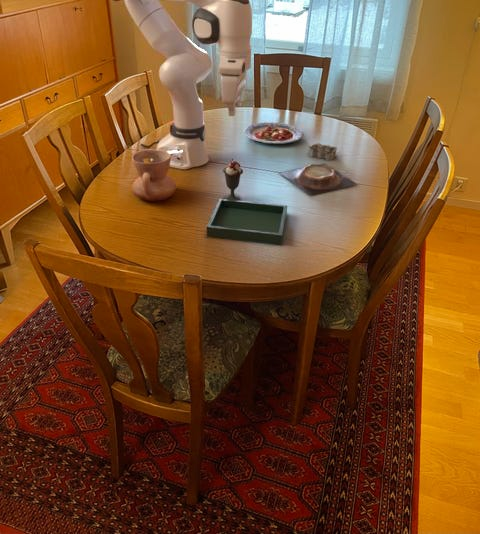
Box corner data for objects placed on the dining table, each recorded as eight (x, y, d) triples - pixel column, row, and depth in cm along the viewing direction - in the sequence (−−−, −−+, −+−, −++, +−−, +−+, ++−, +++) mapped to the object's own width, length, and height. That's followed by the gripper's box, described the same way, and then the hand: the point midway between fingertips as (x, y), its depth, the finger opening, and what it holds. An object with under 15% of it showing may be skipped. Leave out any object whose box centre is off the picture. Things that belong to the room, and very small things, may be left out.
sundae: (227, 204, 150) (228, 162, 141) (219, 196, 154) (219, 154, 146) (245, 200, 152) (247, 158, 143) (236, 192, 157) (237, 151, 148)
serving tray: (206, 236, 134) (206, 226, 132) (219, 207, 148) (219, 198, 146) (281, 245, 131) (281, 235, 129) (286, 214, 145) (287, 205, 143)
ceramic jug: (142, 182, 161) (137, 144, 153) (182, 186, 160) (179, 147, 151) (124, 206, 147) (119, 165, 138) (168, 210, 145) (165, 169, 137)
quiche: (324, 163, 178) (326, 154, 176) (357, 185, 164) (359, 174, 162) (279, 173, 171) (280, 163, 168) (309, 196, 156) (310, 185, 154)
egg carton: (306, 155, 185) (307, 146, 183) (313, 149, 190) (314, 140, 188) (330, 161, 181) (332, 151, 178) (337, 155, 186) (339, 145, 184)
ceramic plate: (264, 123, 215) (265, 116, 214) (312, 135, 204) (313, 129, 202) (232, 138, 198) (232, 131, 197) (282, 152, 187) (283, 145, 185)
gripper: (231, 53, 137) (230, 100, 145) (217, 68, 120) (217, 120, 128) (251, 54, 136) (250, 101, 144) (240, 70, 120) (239, 122, 128)
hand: (234, 110), depth 136 cm, fingers open, 8 cm apart
